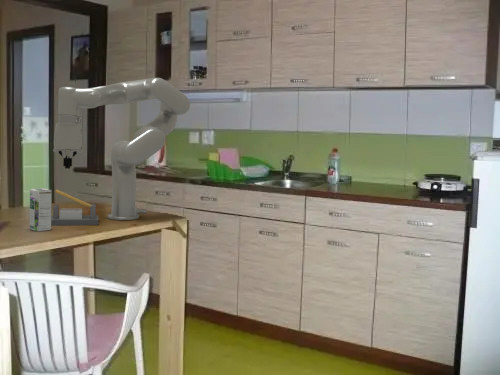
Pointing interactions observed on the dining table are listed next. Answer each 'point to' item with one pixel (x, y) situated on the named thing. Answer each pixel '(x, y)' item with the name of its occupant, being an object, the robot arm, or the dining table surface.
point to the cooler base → (74, 216)
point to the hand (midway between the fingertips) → (67, 168)
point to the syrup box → (40, 209)
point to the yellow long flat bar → (73, 198)
